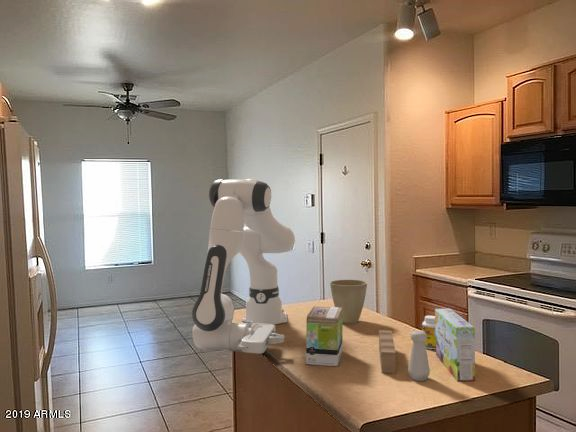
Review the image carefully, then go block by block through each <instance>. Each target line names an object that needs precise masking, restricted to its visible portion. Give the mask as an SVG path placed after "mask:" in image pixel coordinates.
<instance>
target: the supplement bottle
mask: <svg viewBox="0 0 576 432" xmlns="http://www.w3.org/2000/svg"><path fill="white" fill-rule="evenodd" d="M421 328H422V329H421V331H423V332H425V333H426V334H427V341H425V346H426V350H432V349H434V350H436V333H435V315H425V316H424V320H423V321H422V323H421Z"/></svg>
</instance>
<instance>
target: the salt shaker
mask: <svg viewBox="0 0 576 432" xmlns="http://www.w3.org/2000/svg"><path fill="white" fill-rule="evenodd" d="M410 339H411V341H412V346H411V352H410V357H409V363H408V366H407V367H408V368H407V371H408V374H409V377H410V379H412V380H413V381H416V382H425V381H427V380H428V379H429V376H430V375H431V374H430V373H431V370H430V365H429V359H428V354H427V349H426V346H425V341H427V334H426V333H425V332H423V331H422V330H414V331H412V332H411V333H410Z"/></svg>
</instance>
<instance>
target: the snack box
mask: <svg viewBox="0 0 576 432" xmlns="http://www.w3.org/2000/svg"><path fill="white" fill-rule="evenodd" d="M434 316H435V333H436V349H435V355H436V358H438V359H439V361H440V362H441V363H442V364H443V365H444V366H445V368H446V369H447V371H448V372H449V373H450V375H452V377H453V378H454V380H456V382H470V381H471V382H474V381H475V382H476V350H475V349H476V344H475V343H476V341H475V340H476V339H475V338H476V337H475V335H476V334H475V333H476V332H475V331H476V329H475V326H473V325H472V324H471V323H470V322H468V321H467V319H465V318H463V317H462V316H460V314H458V313H456V311H454V310H453V309H451V308H434Z"/></svg>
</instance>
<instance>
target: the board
mask: <svg viewBox="0 0 576 432" xmlns="http://www.w3.org/2000/svg"><path fill="white" fill-rule="evenodd" d="M378 349H379V350H378V351H379V360H380V369H381V374H396V373H397V357H396V356H397V352H396V351H397V350H396V347H395V342H394V338H393V332H392V330H382V329H381V330H378Z"/></svg>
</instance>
